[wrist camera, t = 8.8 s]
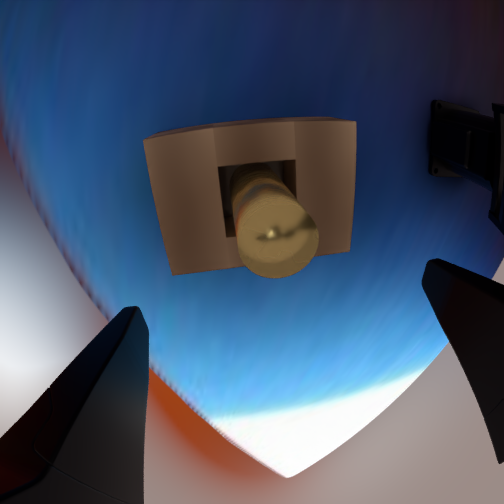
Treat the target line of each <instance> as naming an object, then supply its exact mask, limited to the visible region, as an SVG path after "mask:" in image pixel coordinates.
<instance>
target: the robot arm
mask: <svg viewBox="0 0 504 504" xmlns="http://www.w3.org/2000/svg"><path fill="white" fill-rule="evenodd" d="M437 105H438V107H437ZM492 111H494V118H493V117H489V116H485V115H481V114H480V113H479V111H477V110H473V109H470V108H467V107H463V106H460V105H456V104H453V103H449V102H445V101H441V100H434V101H433V102H432V134H431V151H430V163H429V173H430V174H431V175H433V176H436V177H464V178H466V179H468V180H470V181H472V182H474V183H476V184H478V185H480V186H482V187H484V188H486V189H488V190H490V191H491V192H492V199H491V207H490V210H489V215H488V218H489V219H490V220H491V221H492V222H493V223H494V224H495V225H496V227H497V228H498V229H499V230H500V231H501V232H502V234H503V235H504V104H497V103H492ZM434 169H435V171H434ZM422 287H423V290H424V292H425V294H426V296H427V298H428V300H429V302H430V304H431V306H432V308H433V310H434V313H435V315H436V317H437V319H438V321H439V323H440V325H441V327H442V329H443V331H444V333H445V335H446V336H447V338H448V340H449V342H450V344H451V346H452V348H453V350H454V352H455V354H456V356H457V357H458V360H459V362H460V364H461V366H462V368H463V370H464V372H465V374H466V376H467V379H468V381H469V383H470V385H471V387H472V390H473V392H474V394H475V397H476V399H477V402H478V404H479V407H480V409H481V412H482V415H483V417H484V421H485V423H486V426H487V429H488V432H489V435H490V438H491V441H492V444H493V447H494V450H495V454H496V457H497V461H498V463H499V464H501V463H503V462H504V285H503V284H500V283H498V282H496V281H493V280H491V279H489V278H486V277H484V276H482V275H479V274H477V273H474V272H472V271H469V270H467V269H464V268H462V267H459V266H457V265H454V264H452V263H449V262H447V261H444V260H441V259H438V258H436V259H432V260H429V261H428V262H427V264H426V267H425V271H424V274H423V278H422ZM148 384H149V330H148V327H147V324H146V322H145V319H144V317H143V315H142V312H141V310H140V308H139V307H137V306H130V307H125V308H123V309H122V310H121V311H120V312H119V313H118V314H117V315H116V316H115V317H114V318H113V319H112V320H111V321H110V322H109V323H108V324H107V325H106V326H105V327H104V328H103V330H101V331H100V332H99V334H98V335H97V336H96V337H95V338H94V339H93V340H92V341H91V342H90V343H89V344H88V345H87V346H86V347H85V348H84V349H83V350H82V351H81V352H80V353H79V355H78V356H77V357H76V358H75V359H74V360H73V361H72V362H71V363H70V364H69V365H68V366H67V367H66V369H65V370H64V371H63V372H62V373H61V374H60V375H59V376H58V377H57V378H56V379H55V381H54V382H53V383H52V384H51V385H50V388H47V390H46V391H45V392H44V393H43V394H42V395H41V396H40V398H39V399H38V400H37V401H36V402H35V403H34V404H33V405H32V406H31V407H30V409H29V410H28V411H27V412H26V413H25V414H24V415H23V416H22V417H21V418H20V419H19V420H18V421H17V422H16V423H15V424H14V425H13V426H12V427H11V428H10V429H9V430H8V431H7V432H6V433H5V434H4V435H3V436H2V437H1V438H0V504H144V483H143V482H144V479H143V478H144V476H143V475H144V472H143V471H144V440H145V422H146V408H147V396H148Z"/></svg>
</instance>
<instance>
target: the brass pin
mask: <svg viewBox="0 0 504 504" xmlns="http://www.w3.org/2000/svg"><path fill="white" fill-rule="evenodd" d="M229 188H230V196H231V203H232V210H233V217H234V224H235V230H236V237H237V244H238V250H239V255H240V258H241V260H242V261H243V263H244V264H245V266H246V267H247V268H248V269H249V270H251V271H252V272H253V273H255V274H257V275H259V276H262V277H266V278H283V277H287V276H290V275H293V274H295V273H297V272H299V271H300V270H302V269H303V268H304V267H305V266H306V265H307V264H308V263H309V262H310V261H311V260H312V258H313V257H314V255H315V253H316V250H317V247H318V242H319V234H318V229H317V226H316V224H315V222H314V220H313V219H312V218H311V216H310V215H309V214H308V212H307V211H306V210H305V209H304V207H303V206H302V205H301V204H300V202H299V201H298V200H297V199H296V198H295V196H294V195H293V194H292V193H291V191H290V190H289V189H288V188H287V187H286V185H285V184H284V183H283V182H282V181H281V179H280V178H279V177H278V176H277V175H276V173H275V172H274V171H273V170H272V169H271V168H270V167H269V166H268V165H266V164H264V163H262V162H256V163H246V164H242V165H240V166H239V167H237V168H236V169H235V171H234V172H233V173H232V175H231V178H230V182H229Z"/></svg>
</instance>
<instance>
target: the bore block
mask: <svg viewBox="0 0 504 504" xmlns="http://www.w3.org/2000/svg"><path fill="white" fill-rule="evenodd" d="M143 143H144V149H145V155H146V161H147V166H148V172H149V177H150V182H151V187H152V192H153V197H154V202H155V206H156V211H157V216H158V220H159V224H160V229H161V233H162V237H163V241H164V245H165V249H166V253H167V257H168V261H169V265H170V268H171V272H172V276H173V275H181V274H189V273H197V272H205V271H212V270H220V269H228V268H235V267H243V266H245V264H244V263H243V261H242V260H241V258H240V255H239V250H238V244H237V237H236V230H235V224H234V217H233V210H232V203H231V196H230V188H229V182H230V178H231V175H232V173H233V172H234V171H235V169H236V168H237V167H239V166H240V165H242V164H246V163H256V162H262V163H264V164H266V165H268V166H269V167H270V168H271V169H272V170H273V171H274V172H275V173H276V175H277V176H278V177H279V178H280V179H281V181H282V182H283V183H284V184H285V185H286V187H287V188H288V189H289V190H290V191H291V193H292V194H293V195H294V196H295V198H296V199H297V200H298V201H299V202H300V204H301V205H302V206H303V207H304V209H305V210H306V211H307V212H308V214H309V215H310V216H311V218H312V219H313V220H314V222H315V224H316V226H317V229H318V234H319V242H318V247H317V250H316V253H315V255H314V257H315V256H322V255H329V254H335V253H342V252H349V251H350V244H351V234H352V223H353V210H354V194H355V174H356V122H355V121H350V120H344V119H338V118H332V117H284V118H265V119H252V120H240V121H230V122H221V123H213V124H205V125H198V126H192V127H185V128H179V129H173V130H168V131H163V132H158V133H156V134H154V135H152V136H150V137H148V138H146V139H144V140H143Z"/></svg>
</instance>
